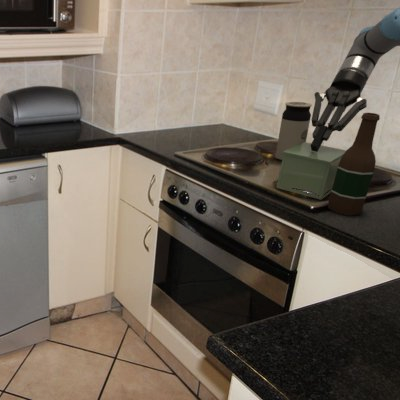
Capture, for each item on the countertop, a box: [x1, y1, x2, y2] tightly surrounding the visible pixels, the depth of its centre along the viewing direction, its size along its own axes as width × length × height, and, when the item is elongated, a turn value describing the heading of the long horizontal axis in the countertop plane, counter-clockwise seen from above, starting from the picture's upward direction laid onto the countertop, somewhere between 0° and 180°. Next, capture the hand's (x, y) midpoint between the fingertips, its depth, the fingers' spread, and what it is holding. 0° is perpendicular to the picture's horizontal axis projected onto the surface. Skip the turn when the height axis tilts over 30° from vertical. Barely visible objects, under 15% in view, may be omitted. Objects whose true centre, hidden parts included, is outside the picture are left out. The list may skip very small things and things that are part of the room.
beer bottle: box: [327, 112, 381, 217], centre depth 114 cm, size 8×8×24 cm
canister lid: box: [283, 141, 347, 165], centre depth 128 cm, size 14×12×1 cm
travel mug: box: [275, 101, 313, 161], centre depth 153 cm, size 8×8×18 cm
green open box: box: [275, 155, 341, 201], centre depth 130 cm, size 14×12×10 cm
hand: (313, 148), depth 126 cm, fingers closed
